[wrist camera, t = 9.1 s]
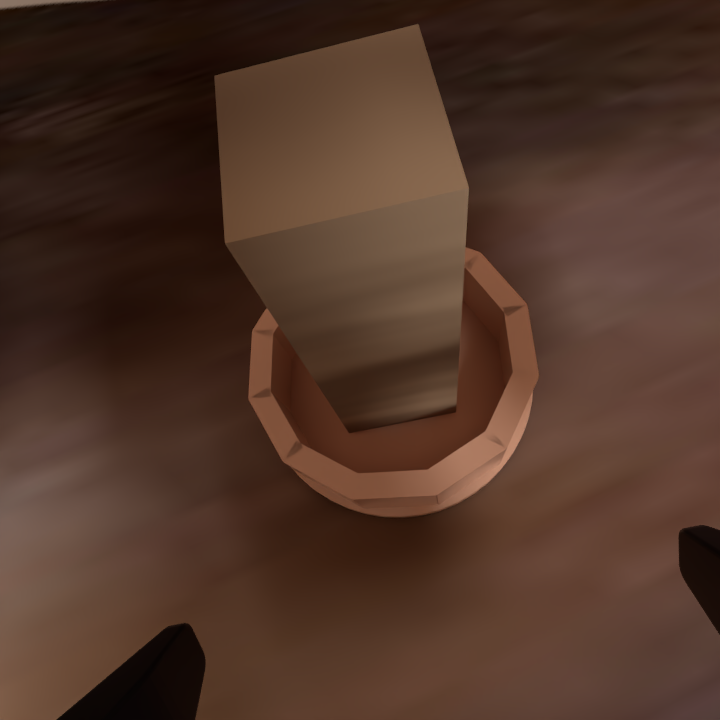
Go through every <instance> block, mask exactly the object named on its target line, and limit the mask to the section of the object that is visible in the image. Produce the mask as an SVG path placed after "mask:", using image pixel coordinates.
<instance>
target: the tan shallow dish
mask: <svg viewBox="0 0 720 720" xmlns="http://www.w3.org/2000/svg"><path fill="white" fill-rule="evenodd" d="M538 378H539V372H538V366H537V360H536V354H535V348H534V342H533V336H532V330H531V324H530V318H529V312H528V306H527V304H526V302H525V301H524V300H523V299H522V298H521V297H520V296H519V295H518V294H517V292H516V291H515V290H514V289H513V288H512V287H511V286H510V285H509V284H508V282H507V281H506V280H505V279H504V278H503V277H502V276H501V275H500V274H499V272H498V271H497V270H496V269H495V268H494V267H493V266H492V265H491V263H490V262H489V261H488V260H487V259H486V258H485V257H484V256H483V255H482V253H480V252H478V251H475V250H472V249H469V248H465V265H464V282H463V300H462V317H461V335H460V352H459V370H458V387H457V404H456V412H455V413H450V414H445V415H440V416H435V417H430V418H425V419H420V420H414V421H409V422H404V423H399V424H394V425H389V426H384V427H379V428H374V429H368V430H363V431H358V432H353V433H349V432H348V431H347V429H346V428H345V426H344V425H343V423H342V422H341V420H340V419H339V417H338V416H337V414H336V413H335V411H334V409H333V408H332V406H331V405H330V403H329V402H328V400H327V399H326V397H325V396H324V394H323V393H322V391H321V390H320V388H319V387H318V385H317V383H316V382H315V380H314V379H313V377H312V376H311V374H310V373H309V371H308V370H307V368H306V367H305V365H304V364H303V362H302V361H301V359H300V358H299V356H298V354H297V353H296V351H295V350H294V348H293V347H292V345H291V344H290V342H289V341H288V339H287V338H286V336H285V335H284V333H283V332H282V330H281V328H280V327H279V325H278V324H277V322H276V321H275V319H274V318H273V316H272V315H271V313H270V312H269V310H268V309H267V308H266V310H265V311H264V313H263V314H262V316H261V318H260V319H259V321H258V322H257V324H256V325H255V327H254V329H253V330H252V342H251V359H250V377H249V395H248V399H249V401H250V403H251V405H252V407H253V408H254V410H255V412H256V414H257V416H258V418H259V419H260V421H261V423H262V425H263V427H264V429H265V430H266V432H267V434H268V436H269V438H270V439H271V441H272V443H273V445H274V447H275V449H276V450H277V452H278V454H279V456H280V458H281V459H282V461H283V462H284V463H285V464H287V465H288V466H290V467H291V468H292V469H293V470H294V471H295V472H296V474H297V475H298V476H299V477H300V478H301V479H302V480H303V481H304V482H306V483H307V484H308V485H309V486H310V487H311V488H313V489H314V490H315V491H317V492H318V493H320V494H322V495H323V496H325V497H326V498H328V499H329V500H331V501H333V502H334V503H337V504H339V505H341V506H343V507H345V508H347V509H350V510H353V511H356V512H359V513H363V514H366V515H372V516H378V517H384V518H408V517H417V516H423V515H427V514H431V513H435V512H439V511H442V510H444V509H447V508H449V507H452V506H454V505H457V504H459V503H460V502H462V501H464V500H466V499H467V498H469V497H471V496H473V495H474V494H475V493H477V492H478V491H479V490H481V489H482V488H483V487H484V486H486V485H487V484H488V483H489V482H490V481H491V480H492V479H493V478H494V477H495V476H496V475H497V474H498V473H499V472H500V471H501V470H502V468H503V467H504V466H505V464H506V463H507V461H508V460H509V459H510V457H511V456H512V454H513V452H514V450H515V448H516V447H517V445H518V443H519V441H520V439H521V437H522V435H523V433H524V430H525V427H526V424H527V421H528V419H529V414H530V409H531V404H532V397H533V389H534V387H535V385H536V383H537V380H538Z"/></svg>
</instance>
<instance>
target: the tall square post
mask: <svg viewBox="0 0 720 720" xmlns="http://www.w3.org/2000/svg"><path fill="white" fill-rule="evenodd" d="M214 77H215V93H216V109H217V125H218V141H219V157H220V173H221V189H222V205H223V221H224V237H225V244H226V246H227V248H228V249H229V251H230V252H231V254H232V255H233V257H234V258H235V260H236V261H237V263H238V264H239V266H240V267H241V269H242V270H243V272H244V273H245V275H246V277H247V278H248V280H249V281H250V283H251V284H252V286H253V287H254V289H255V290H256V292H257V293H258V295H259V296H260V298H261V299H262V301H263V303H264V304H265V306H266V307H267V309H268V310H269V312H270V313H271V315H272V316H273V318H274V319H275V321H276V322H277V324H278V325H279V327H280V328H281V330H282V332H283V333H284V335H285V336H286V338H287V339H288V341H289V342H290V344H291V345H292V347H293V348H294V350H295V351H296V353H297V354H298V356H299V358H300V359H301V361H302V362H303V364H304V365H305V367H306V368H307V370H308V371H309V373H310V374H311V376H312V377H313V379H314V380H315V382H316V383H317V385H318V387H319V388H320V390H321V391H322V393H323V394H324V396H325V397H326V399H327V400H328V402H329V403H330V405H331V406H332V408H333V409H334V411H335V413H336V414H337V416H338V417H339V419H340V420H341V422H342V423H343V425H344V426H345V428H346V429H347V431H348V432H349V433H353V432H358V431H363V430H368V429H374V428H379V427H384V426H389V425H394V424H399V423H404V422H409V421H414V420H420V419H425V418H430V417H435V416H440V415H445V414H450V413H455V412H456V404H457V387H458V370H459V352H460V335H461V317H462V300H463V282H464V265H465V248H466V230H467V213H468V195H469V187H468V183H467V180H466V177H465V174H464V170H463V167H462V164H461V161H460V158H459V154H458V151H457V148H456V145H455V141H454V138H453V135H452V132H451V129H450V125H449V122H448V119H447V116H446V112H445V109H444V106H443V103H442V100H441V96H440V93H439V90H438V87H437V83H436V80H435V77H434V74H433V71H432V67H431V64H430V61H429V58H428V54H427V51H426V48H425V45H424V42H423V38H422V35H421V32H420V29H419V25H418V24H417V25H413V26H409V27H405V28H401V29H397V30H393V31H389V32H385V33H381V34H377V35H373V36H369V37H365V38H361V39H358V40H354V41H350V42H346V43H342V44H338V45H334V46H330V47H326V48H322V49H318V50H314V51H310V52H306V53H302V54H298V55H294V56H290V57H286V58H282V59H279V60H275V61H271V62H267V63H263V64H259V65H255V66H251V67H247V68H243V69H239V70H235V71H231V72H227V73H223V74H219V75H215V76H214Z"/></svg>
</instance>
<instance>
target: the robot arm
mask: <svg viewBox="0 0 720 720" xmlns="http://www.w3.org/2000/svg"><path fill="white" fill-rule="evenodd" d="M679 567H680V571H681V574H682V576H683V578H684V580H685V582H686V584H687V585H688V587H689V588H690V590H691V591H692V593H693V594H694V596H695V597H696V599H697V601H698V602H699V604H700V605H701V607H702V608H703V610H704V611H705V613H706V614H707V616H708V617H709V619H710V621H711V622H712V624H713V625H714V627H715V628H716V630H717V631H718V633H719V634H720V530H718V529H715V528H712V527H709V526H705V525H699V526H693V527H688V528H683V529H682V530H680V532H679ZM204 672H205V655H204V652H203V650H202V648H201V646H200V643H199V641H198V639H197V637H196V635H195V633H194V631H193V629H192V627H191V626H190V625H189V624H187V623H183V624H177V625H172V626H168V627H167V628H165V629H164V630H163V631H161V632H160V633H159V634H158V635H157V636H155V637H154V638H153V639H152V640H151V641H150V642H148V643H147V644H146V645H145V646H144V647H142V648H141V649H140V650H139V651H138V652H136V653H135V654H134V655H133V656H132V657H130V658H129V659H128V660H127V661H126V662H125V663H123V664H122V665H121V666H120V667H119V668H117V669H116V670H115V671H114V672H113V673H111V674H110V675H109V676H108V677H107V678H106V679H104V680H103V681H102V682H101V683H100V684H98V685H97V686H96V687H95V688H94V689H92V690H91V691H90V692H89V693H88V694H86V695H85V696H84V697H83V698H82V699H81V700H79V701H78V702H77V703H76V704H75V705H73V706H72V707H71V708H70V709H69V710H67V711H66V712H65V713H64V714H63V715H62V716H60V717H59V718H58V719H57V720H195V718H196V713H197V708H198V703H199V698H200V693H201V688H202V682H203V677H204Z"/></svg>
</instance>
